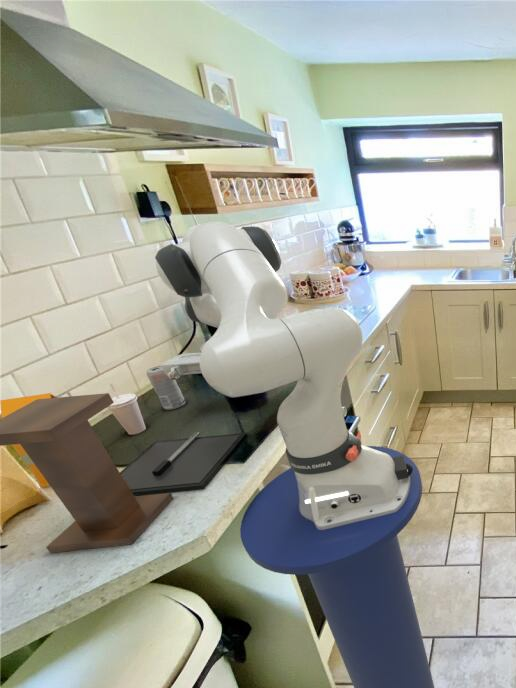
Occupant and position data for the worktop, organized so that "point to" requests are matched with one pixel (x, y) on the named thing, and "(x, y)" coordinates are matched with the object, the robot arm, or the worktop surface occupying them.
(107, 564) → the worktop surface
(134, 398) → the smoothie
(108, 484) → the brown wooden pedestal
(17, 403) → the orange juice
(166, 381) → the energy drink
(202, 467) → the tablet
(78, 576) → the worktop surface
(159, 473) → the stylus
